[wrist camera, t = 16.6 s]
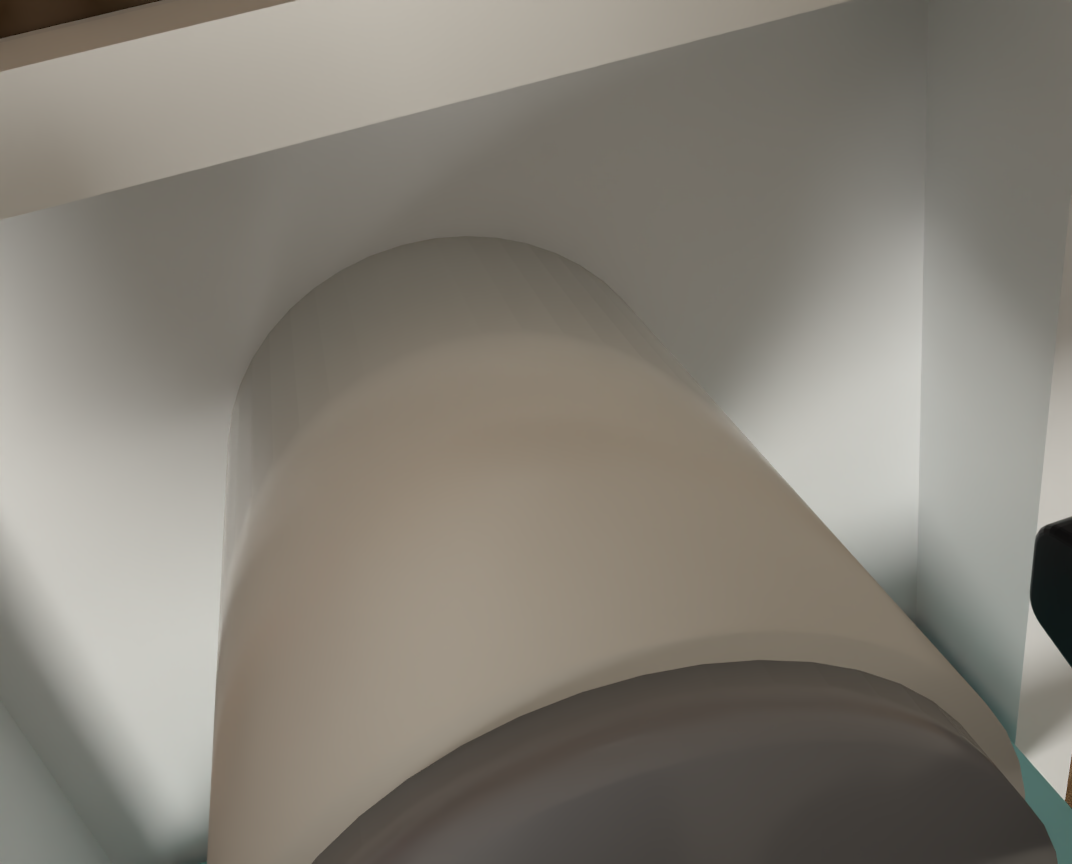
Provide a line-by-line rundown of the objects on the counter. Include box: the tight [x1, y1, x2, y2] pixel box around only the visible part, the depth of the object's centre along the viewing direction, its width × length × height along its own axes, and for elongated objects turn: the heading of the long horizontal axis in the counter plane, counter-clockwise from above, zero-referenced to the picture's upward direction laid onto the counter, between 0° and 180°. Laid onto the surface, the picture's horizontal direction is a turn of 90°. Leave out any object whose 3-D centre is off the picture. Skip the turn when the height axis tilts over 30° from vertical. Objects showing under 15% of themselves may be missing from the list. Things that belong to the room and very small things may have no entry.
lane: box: [0, 0, 1072, 864], centre depth 13 cm, size 17×15×3 cm
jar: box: [207, 236, 1058, 864], centre depth 9 cm, size 6×6×8 cm
